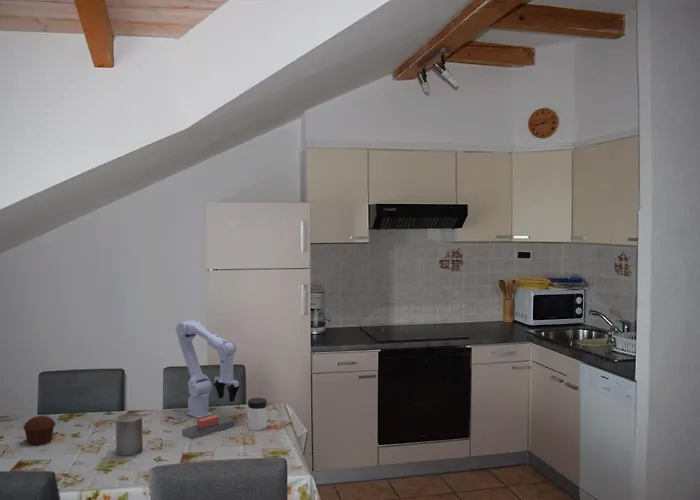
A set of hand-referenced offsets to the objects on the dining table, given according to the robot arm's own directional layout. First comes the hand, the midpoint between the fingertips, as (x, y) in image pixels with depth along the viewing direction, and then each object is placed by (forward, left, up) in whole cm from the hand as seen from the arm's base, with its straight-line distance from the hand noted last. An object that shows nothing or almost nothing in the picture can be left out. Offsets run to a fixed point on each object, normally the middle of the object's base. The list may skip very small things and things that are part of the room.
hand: (226, 399), depth 291 cm
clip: (+4, -13, -9) cm, 17 cm away
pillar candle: (+1, -49, -10) cm, 50 cm away
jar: (+16, +4, -10) cm, 19 cm away
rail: (+4, -13, -10) cm, 17 cm away
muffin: (-35, -67, -10) cm, 76 cm away
